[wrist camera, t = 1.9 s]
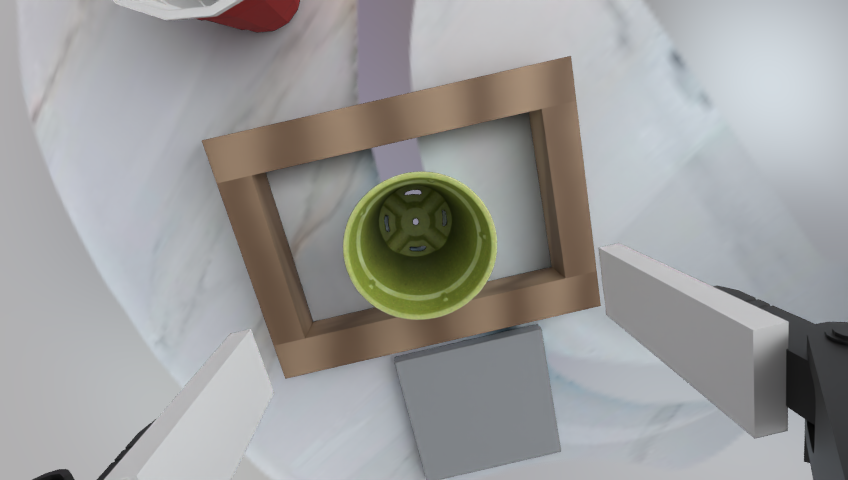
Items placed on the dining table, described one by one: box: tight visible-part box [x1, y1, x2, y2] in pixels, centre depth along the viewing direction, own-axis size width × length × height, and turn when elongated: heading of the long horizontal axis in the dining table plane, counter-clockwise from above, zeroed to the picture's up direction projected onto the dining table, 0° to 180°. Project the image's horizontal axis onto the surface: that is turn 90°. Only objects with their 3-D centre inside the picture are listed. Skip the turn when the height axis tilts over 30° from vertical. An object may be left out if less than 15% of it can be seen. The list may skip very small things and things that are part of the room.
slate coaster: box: [395, 324, 561, 480], centre depth 37 cm, size 13×13×1 cm
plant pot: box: [343, 172, 497, 320], centre depth 29 cm, size 9×9×9 cm
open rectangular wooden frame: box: [202, 56, 601, 379], centre depth 31 cm, size 26×19×3 cm
